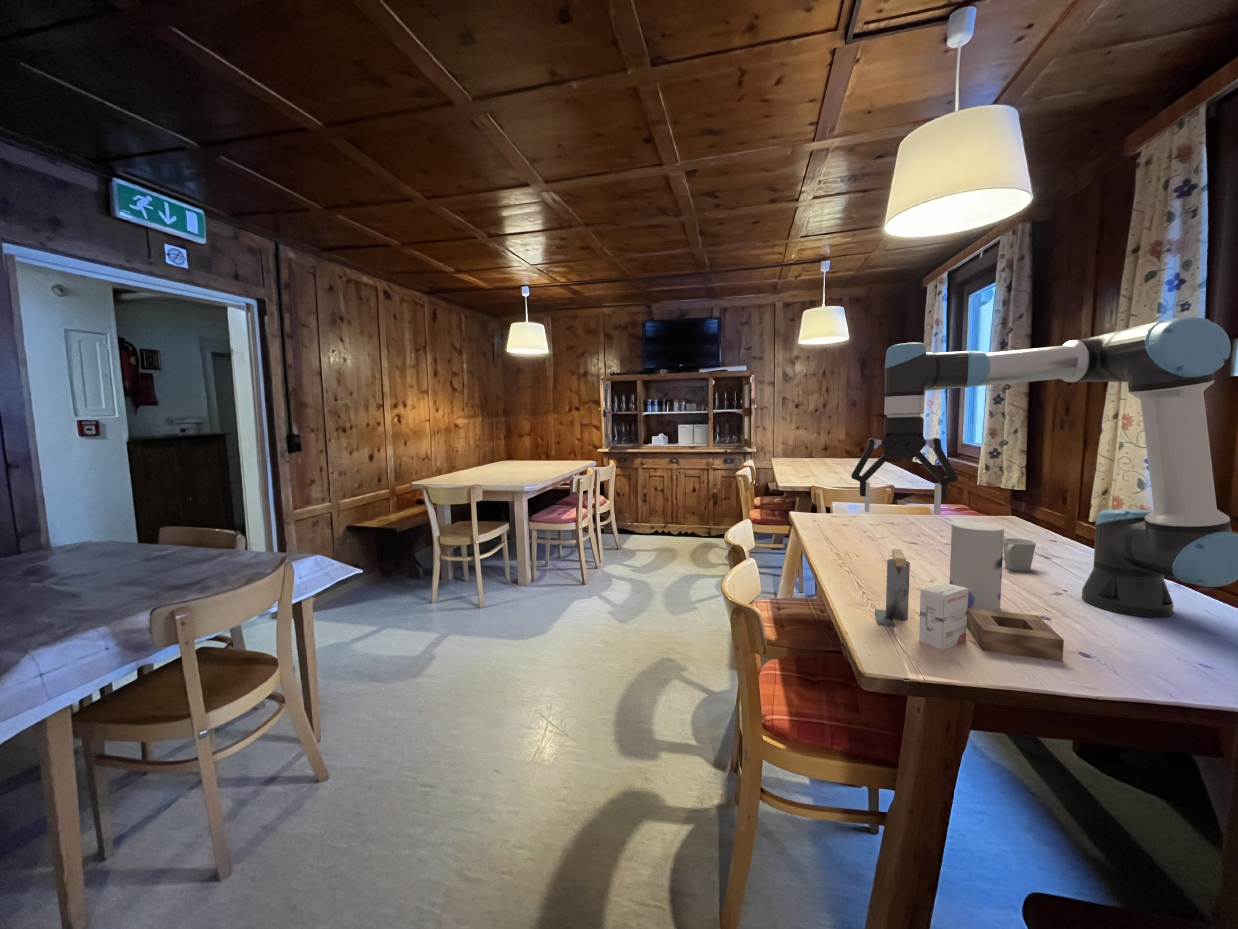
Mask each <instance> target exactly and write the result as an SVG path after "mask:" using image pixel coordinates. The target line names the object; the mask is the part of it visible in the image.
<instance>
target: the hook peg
mask: <svg viewBox="0 0 1238 929" xmlns="http://www.w3.org/2000/svg"><path fill="white" fill-rule="evenodd" d="M886 562H887V563H886V588H885V589H886V592H885V610H886V618H888V619H890V620H893V621H894V620H895V621H906V620H908V619H909V599H910V595H909V594H910V574H911V573H910V569H911V566H910V564H911V563H910V561H908V560H907V558H906V556H905V555H904V552H903V551H902V549H897V548H892V549H891V558H889V559H887V560H886Z"/></svg>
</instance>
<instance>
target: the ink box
mask: <svg viewBox="0 0 1238 929" xmlns="http://www.w3.org/2000/svg"><path fill="white" fill-rule="evenodd" d="M919 595H920V596H919V598H920V599H919V600H920V601H919V631H918V632H919V633H918V641H919V642H921V643H924V644H926V645H929V646H931V647H933V648H936V649H938V650H942V651H944V650H946V649H949V648H952V647H953V646H956V645H959V644H960V643H963V642H965V641H967V629H968V628H967V607H968V589H967V588H965V587H961V586H957V585H952V584H950V583H947V582H942V583H939V584H936V585H932V586H929V587H926V588H923V589H922V588H921V589H920V594H919Z"/></svg>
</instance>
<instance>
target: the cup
mask: <svg viewBox="0 0 1238 929" xmlns="http://www.w3.org/2000/svg"><path fill="white" fill-rule="evenodd" d="M1035 549H1036V541H1033V540H1030V539H1025V538H1017V537H1016V538H1015V537H1004V540H1003V558H1004V565H1005V568H1006V569H1008V570H1010V571H1014V572H1019V573H1020V572H1022V573H1027V572H1030V571H1031V567H1032V563H1033V559H1034V554H1035V551H1036V550H1035Z"/></svg>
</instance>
